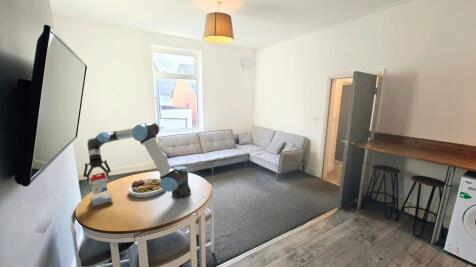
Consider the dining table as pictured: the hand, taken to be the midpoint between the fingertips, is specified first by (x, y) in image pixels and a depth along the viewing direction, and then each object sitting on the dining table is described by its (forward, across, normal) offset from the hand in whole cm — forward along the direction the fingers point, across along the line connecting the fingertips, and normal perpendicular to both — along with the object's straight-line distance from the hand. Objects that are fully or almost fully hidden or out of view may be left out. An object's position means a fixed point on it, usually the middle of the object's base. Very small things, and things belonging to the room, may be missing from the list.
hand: (98, 182), depth 147 cm
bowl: (+9, -34, -16) cm, 39 cm away
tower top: (+9, 0, -13) cm, 16 cm away
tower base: (+11, 0, -15) cm, 19 cm away
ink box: (+4, 0, -8) cm, 9 cm away
